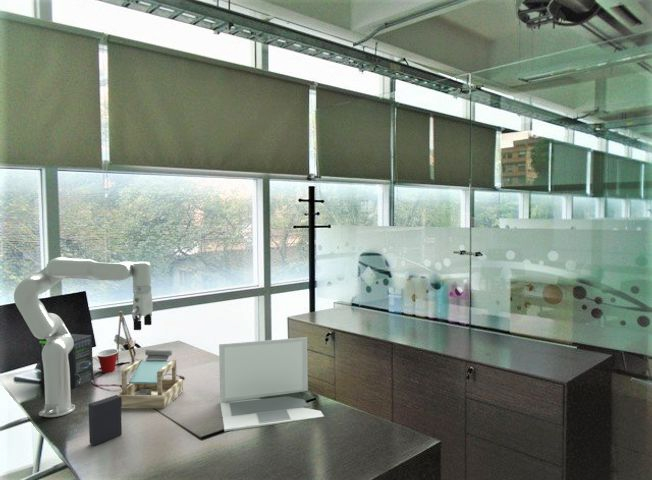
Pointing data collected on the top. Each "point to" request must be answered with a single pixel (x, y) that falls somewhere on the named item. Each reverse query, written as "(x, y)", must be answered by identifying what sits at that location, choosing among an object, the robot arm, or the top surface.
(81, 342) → the headset box
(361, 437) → the top surface
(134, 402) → the tan crate frame
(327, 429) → the top surface
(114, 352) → the plastic cup
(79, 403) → the top surface
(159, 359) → the hatch
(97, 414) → the calculator
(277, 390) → the laptop
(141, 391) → the basalt block
